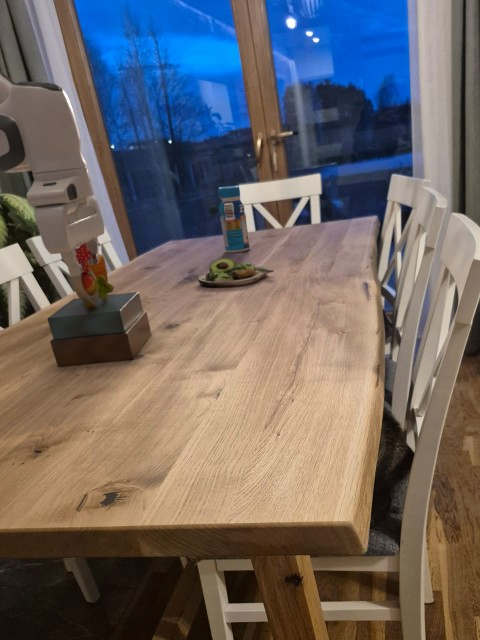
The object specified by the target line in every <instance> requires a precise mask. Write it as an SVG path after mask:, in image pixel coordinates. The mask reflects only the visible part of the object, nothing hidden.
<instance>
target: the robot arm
mask: <svg viewBox="0 0 480 640" xmlns="http://www.w3.org/2000/svg"><path fill="white" fill-rule="evenodd" d="M81 141H82V140H81V135H80V131H79V126H78V123H77V119H76V116H75V112H74V109H73V108H72V104H71V101H70V99H69V97H68V95H67V93H66V92H65V90H64V89H63V87H61V86H59V85H58V84H55V83H52V82H41V81H39V82H37V81H19V82H15V81H13V79H11V78H10V77H9V76H7V75H6V74H5V73H3V72H2V71H1V70H0V173H7V174H14V173H22V172H23V173H24V172H31V173H32V177H33V182H32V185H31V187H30V188H29V189H28V191H27V192H26V199H27V203H28V206H29V207H31V208H34V207H35V208H34V210H33V211H34V212H33V213H34V219H35V222H36V223H35V224H36V226H37V230H38V232H39V235H40V238H41V241H42V244H43V246H44V248H45V250H46V252H48V253H49V254H50V255H58V254H59V255H60V257H61V259H62V261H63V262H64V264H65V265H66V267H67V269H68V273H69V276H70V277H71V278H72V277H73V276H79V275H81V274H82V273H83V270H82V267H81V264H79V263H78V261H77V258H76V256H75V255H76V251H75V249H76V248H78V247H80V246H81V245H83V244H87V250H88V251H91V256H90V258H89V260H88V263H89V264H90V265H93V264H97V263H99V262H100V258H99V254H100V253H99V247H100V245H99V243H100V242H99V239H98V238H99V237H100V236H102V235H104V234H105V222H104V219H103V215H102V213H101V209H100V206H99V203H98V200H97V198H96V196H95V192H94V188H93V185H92V180H91V176H90V172H89V168H88V164H87V161H86V160H85V159H84V156H83V154H82V149H81V143H82V142H81Z"/></svg>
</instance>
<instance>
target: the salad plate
mask: <svg viewBox="0 0 480 640" xmlns="http://www.w3.org/2000/svg"><path fill="white" fill-rule="evenodd" d="M210 263H211V264H209V268H208V270H209V272H208V273H206V274H203V275H201V276H199V277H198V278H197V281H198V283H200V285H201V286H202V287H207V288H224V287H226V288H227V287H238V286H239V287H240V286H246V285H252V284H254V283H256V282H258V281H259V280H262V279H263V278H264V276H266V275H267V274H270V273H271V274H272V273H274V269H268V268H267V267H265V266H262V265H255V264H253V263H250V262H244V263H238V264H237V263H236V261H235V260H233V259H231V258H227V257H223V258H219V259H216V260H214V261H213V262H210Z"/></svg>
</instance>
